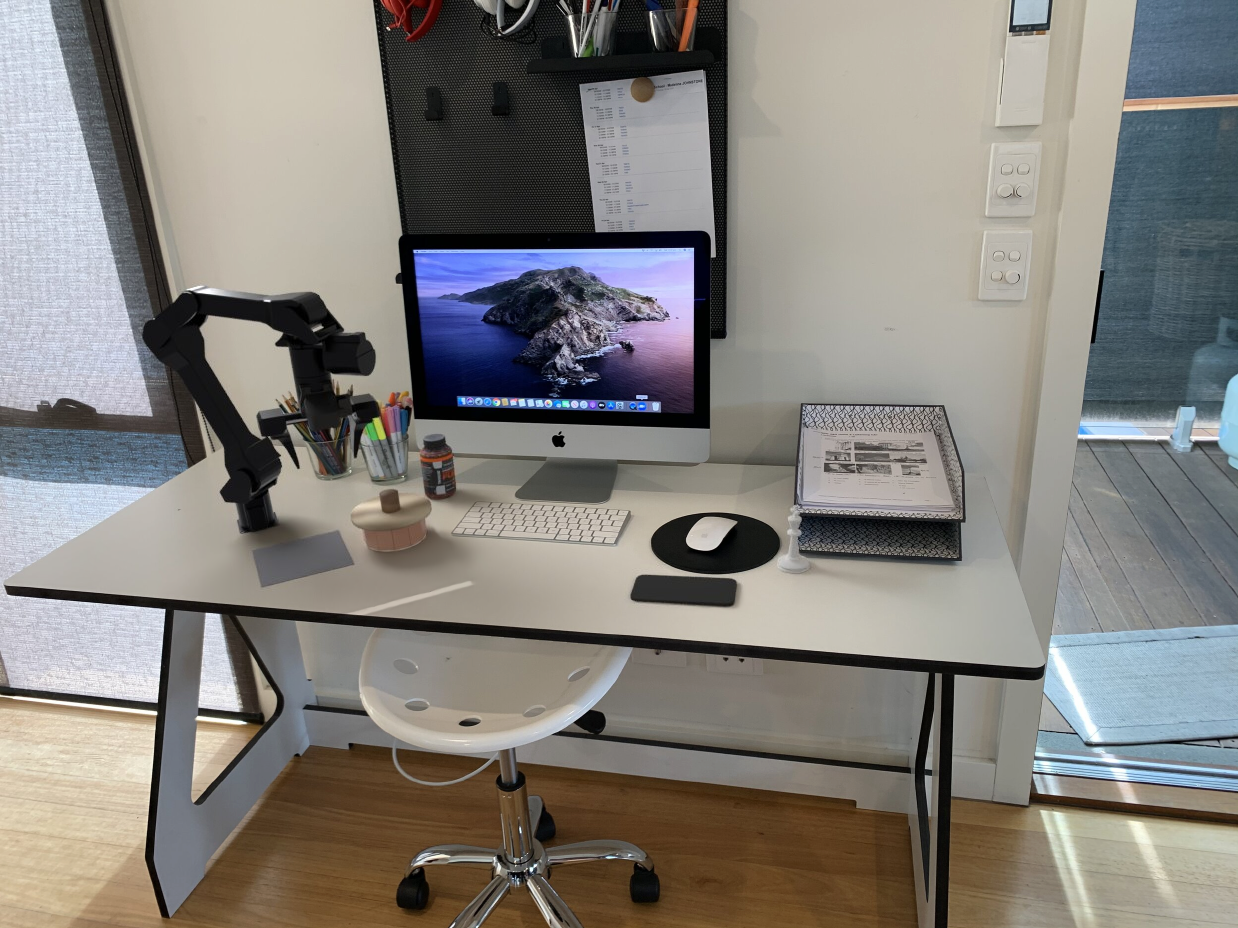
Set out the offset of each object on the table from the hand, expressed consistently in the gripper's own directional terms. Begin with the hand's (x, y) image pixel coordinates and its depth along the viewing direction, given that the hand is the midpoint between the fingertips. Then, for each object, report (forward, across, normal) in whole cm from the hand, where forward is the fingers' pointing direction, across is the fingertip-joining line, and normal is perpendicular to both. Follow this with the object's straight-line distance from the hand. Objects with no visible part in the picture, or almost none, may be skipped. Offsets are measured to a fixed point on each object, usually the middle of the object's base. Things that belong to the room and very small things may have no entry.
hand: (327, 463), depth 150 cm
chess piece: (+12, +59, -50) cm, 78 cm away
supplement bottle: (+13, +20, +6) cm, 24 cm away
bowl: (+13, +8, -9) cm, 17 cm away
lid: (+8, +8, -9) cm, 14 cm away
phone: (+12, +41, -48) cm, 64 cm away
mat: (+13, -7, -8) cm, 17 cm away
